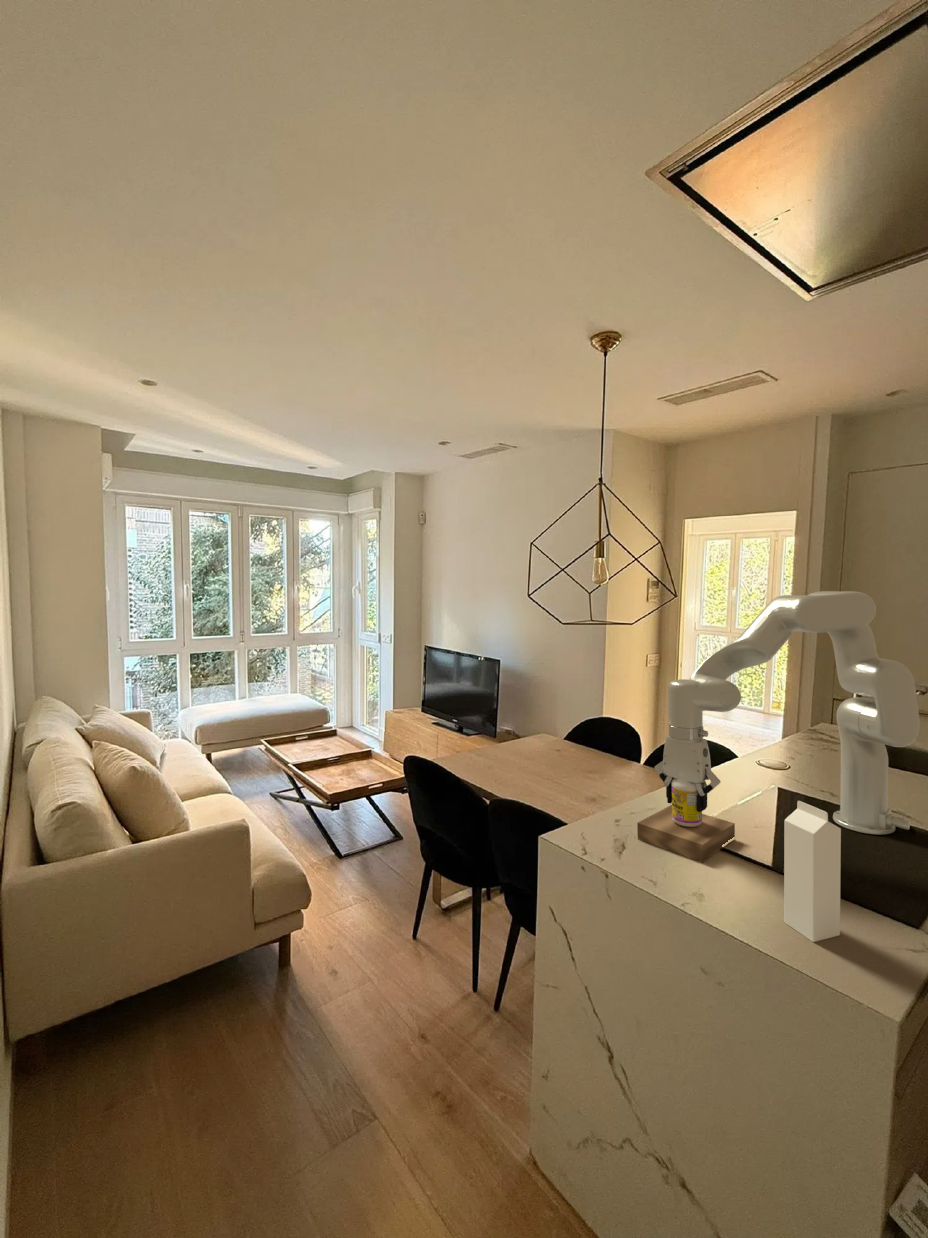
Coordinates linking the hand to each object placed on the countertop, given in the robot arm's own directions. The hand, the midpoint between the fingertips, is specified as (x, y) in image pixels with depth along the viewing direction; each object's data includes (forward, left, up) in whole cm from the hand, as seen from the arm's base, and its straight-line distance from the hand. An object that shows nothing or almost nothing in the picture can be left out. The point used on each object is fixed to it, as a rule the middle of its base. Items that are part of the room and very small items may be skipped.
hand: (686, 805), depth 132 cm
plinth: (0, 0, -8) cm, 8 cm away
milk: (-32, +17, -8) cm, 37 cm away
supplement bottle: (0, 0, -4) cm, 4 cm away
